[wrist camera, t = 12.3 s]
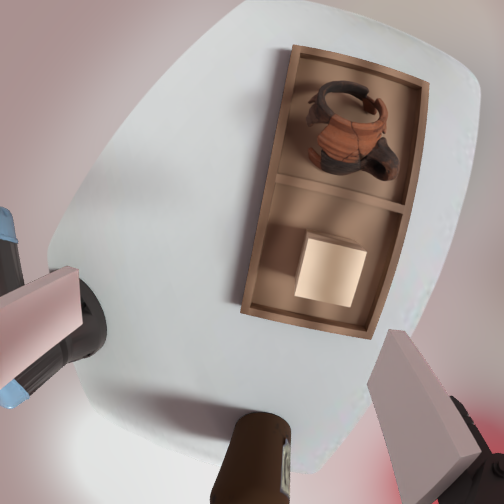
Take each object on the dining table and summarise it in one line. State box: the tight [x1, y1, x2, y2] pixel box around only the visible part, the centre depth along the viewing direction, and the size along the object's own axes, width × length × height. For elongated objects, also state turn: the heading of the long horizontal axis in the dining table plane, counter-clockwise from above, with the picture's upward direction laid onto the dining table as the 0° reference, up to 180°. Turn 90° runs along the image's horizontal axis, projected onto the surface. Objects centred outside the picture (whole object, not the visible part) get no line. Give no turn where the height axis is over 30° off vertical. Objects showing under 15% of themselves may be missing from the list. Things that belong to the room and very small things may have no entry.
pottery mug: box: [306, 80, 400, 181], centre depth 28 cm, size 12×10×8 cm
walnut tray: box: [240, 45, 429, 340], centre depth 32 cm, size 17×33×2 cm, turn 169°
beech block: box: [294, 229, 367, 307], centre depth 31 cm, size 6×6×6 cm
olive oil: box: [210, 413, 291, 504], centre depth 30 cm, size 11×11×25 cm
